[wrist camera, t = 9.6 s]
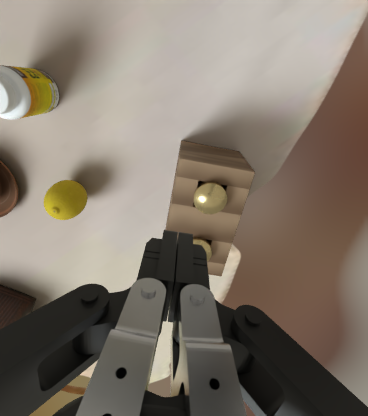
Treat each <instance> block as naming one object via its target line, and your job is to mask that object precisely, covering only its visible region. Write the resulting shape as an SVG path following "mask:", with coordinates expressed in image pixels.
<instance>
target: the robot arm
mask: <svg viewBox="0 0 368 416" xmlns="http://www.w3.org/2000/svg"><path fill="white" fill-rule="evenodd" d="M177 236H178V239H177ZM207 266H208V265H207V254H206V251H205V249H204V248H203V246H202V245H198V244H193V234H190V233H183V232H179V234H178V232H176V231H169V230H164V232H163V238H162V239H156V238H152V239H151V240H149V241H148V242H147V243H146V247H145V251H144V254H143V258H142V262H141V266H140V270H139V273H138V277H137V280H136V282H135V283H134V284H133V285H132V287H130V288H129V289H127V290H124V291H121V292H114V293H109V292H108V290H107V289H106V288H105V287H103V286H101V285H98V284H86V285H83V286H80V287H78V288H76V289H75V290H73V291H71V292H69V293H67V294H65V295H63V296H62V297H60V298H58V299H56V300H54V301H52V302H50V303H48V304H47V305H45V306H43V307H41V308H39V309H37V310H35V311H34V312H32V313H30V314H28V315H26V316H24V317H22V318H20V319H19V320H17V321H15V322H13V323H11V324H9V325H7V326H5V327H4V328H2V329H0V416H29V415H30V414H31V413H33V412H34V411H35V410H36V409H38V408H39V407H40V406H41V405H42V404H44V403H45V402H46V401H47V400H49V399H50V398H51V397H52V396H54V395H55V394H56V393H57V392H59V391H60V390H61V389H62V388H64V387H65V386H66V385H67V384H68V383H70V382H71V381H72V380H73V379H75V378H76V377H77V376H78V375H80V374H81V373H82V372H83V371H85V370H86V369H87V368H88V367H89V366H91V365H92V364H93V363H94V362H96V361H97V360H98V362H97V364H96V367H95V369H94V372H93V374H92V377H91V379H90V382H89V384H88V386H87V389H86V391H85V394H84V396H81V397H79V398H77V399H75V400H73V401H72V402H70V403H68V404H67V405H65V406H64V407H63V408H61V409H60V410H58V412H56V413H55V414H54V415H53V416H247V415H246V411H245V406H244V402H243V400H244V401H245V403H246V404H247V405H248V406H249V408H250V409H251V410H252V412H253V413H254V414H255V415H256V416H368V407H367V406H366V405H365V404H364V403H363V402H361V401H360V400H359V399H358V398H357V397H356V396H355V395H354V394H353V393H352V392H350V391H349V390H348V389H347V388H346V387H345V386H344V385H343V384H342V383H341V382H339V381H338V380H337V379H336V378H335V377H334V376H333V375H332V374H331V373H330V372H329V371H327V370H326V369H325V368H324V367H323V366H322V365H321V364H320V363H319V362H318V361H316V360H315V359H314V358H313V357H312V356H311V355H310V354H309V353H308V352H307V351H305V350H304V349H303V348H302V347H301V346H300V345H299V344H297V342H296V341H294V340H293V339H292V338H291V337H290V336H289V335H288V334H287V333H286V332H284V330H282V329H281V328H280V327H279V326H278V325H277V324H276V323H275V322H274V321H272V320H271V319H270V318H269V317H268V316H267V315H266V314H265V313H264V312H263V311H261V310H260V309H258V308H256V307H254V306H250V305H242V306H239V307H238V308H237V309H236V310H233V309H231V308H229V307H226V306H224V305H222V304H220V303H219V302H218V301H216V300H215V298H214V295H213V294H212V292H211V291H210V286H209V275H208V267H207ZM168 310H169V314H168ZM167 315H168V322H173V331H172V335H171V393H170V397H161V396H159V395H156V394H154V393H152V392H149V391H148V386H149V381H150V376H151V371H152V366H153V361H154V356H155V351H156V347H157V342H158V337H159V335H160V333H161V329H162V323H163V321H166V320H167Z"/></svg>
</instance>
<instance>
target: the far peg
mask: <svg viewBox="0 0 368 416" xmlns="http://www.w3.org/2000/svg"><path fill="white" fill-rule="evenodd" d="M193 244H198V245H202V246H203V248H204V249H205V251H206V254H207V261H208V260H209V259H210V258H211V255H212V250H211V245H210V244H209V242H208V241H207V240H206V239H203V238H199V237H193Z"/></svg>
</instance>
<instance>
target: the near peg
mask: <svg viewBox="0 0 368 416" xmlns="http://www.w3.org/2000/svg"><path fill="white" fill-rule="evenodd" d="M226 203H227V194H226V191H225V189H224V188H223V186H221V185H220V184H218V183H216V182H205V181H198V185H197V189H196V190H195V192H194V204H195V207H196V208H197V209H198V210H199V211H200V212H202V213H204V214H216V213H218V212H220V211H221V210H222V209H223V208H224V207H225V205H226Z"/></svg>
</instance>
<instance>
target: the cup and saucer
mask: <svg viewBox="0 0 368 416" xmlns="http://www.w3.org/2000/svg"><path fill="white" fill-rule="evenodd" d="M17 200H18V187H17V184H16V181H15V179H14V177H13V175H12V173H11V172H10V170H9V169H8V168H7V167H6V166H5V165H4V164H3V163H2V162H1V161H0V217H2V216H5V215H7V214H8V213H9V212H11V210H12V209H13V208H14V207H15V205H16V203H17Z"/></svg>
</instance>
